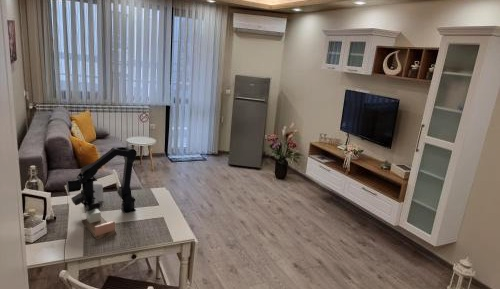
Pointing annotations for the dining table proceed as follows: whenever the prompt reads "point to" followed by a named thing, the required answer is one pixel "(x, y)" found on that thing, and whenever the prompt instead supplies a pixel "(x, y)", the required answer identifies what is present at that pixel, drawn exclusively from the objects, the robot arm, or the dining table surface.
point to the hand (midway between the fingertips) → (89, 214)
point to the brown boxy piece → (100, 228)
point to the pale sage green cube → (93, 215)
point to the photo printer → (98, 192)
